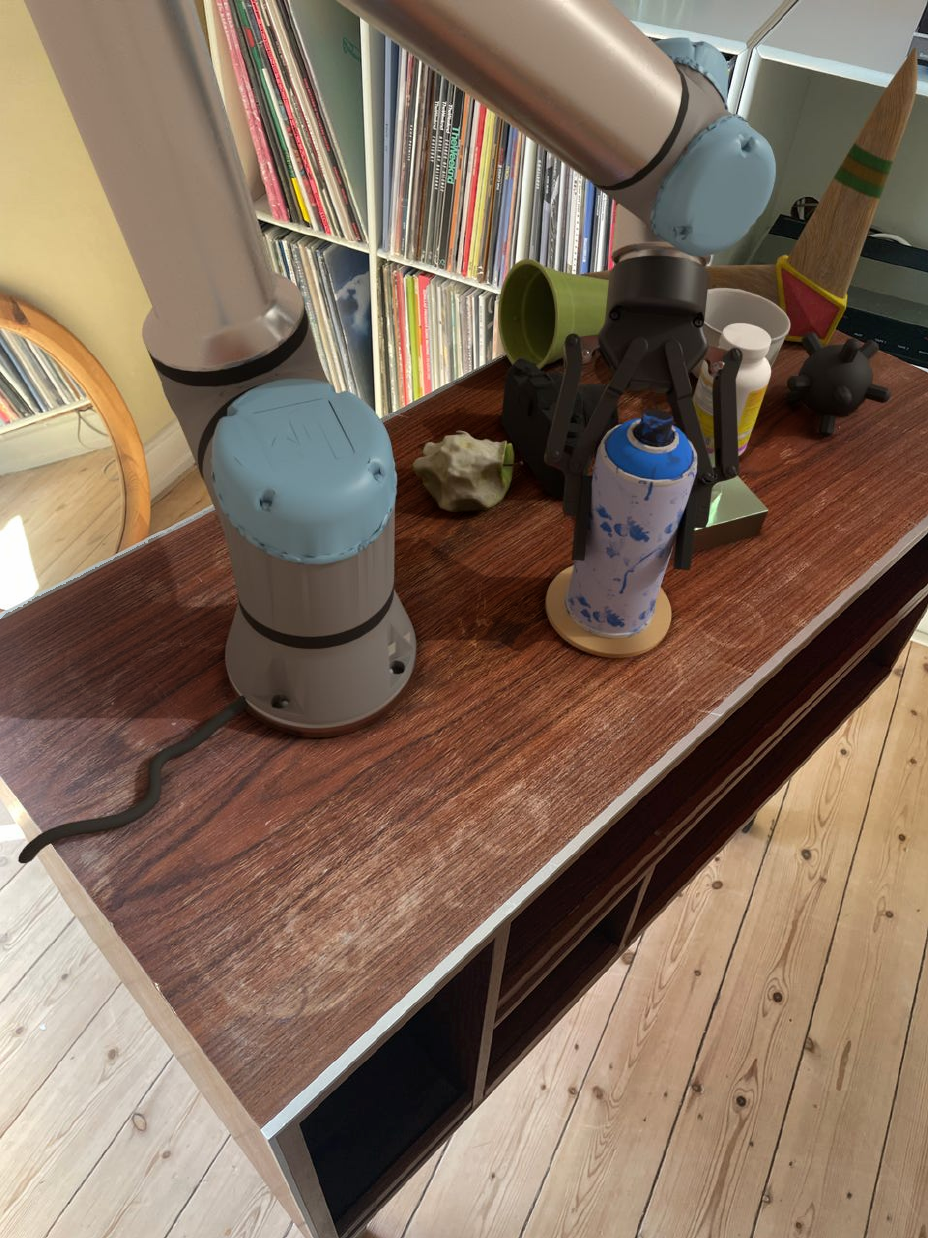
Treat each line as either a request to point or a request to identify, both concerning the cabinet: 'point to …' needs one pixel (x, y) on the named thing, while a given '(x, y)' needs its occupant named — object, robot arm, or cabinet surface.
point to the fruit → (466, 472)
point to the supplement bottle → (737, 382)
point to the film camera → (546, 418)
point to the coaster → (596, 643)
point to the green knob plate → (729, 515)
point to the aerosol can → (631, 524)
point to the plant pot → (547, 311)
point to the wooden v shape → (831, 225)
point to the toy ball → (835, 380)
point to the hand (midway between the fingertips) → (629, 564)
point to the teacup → (743, 318)
